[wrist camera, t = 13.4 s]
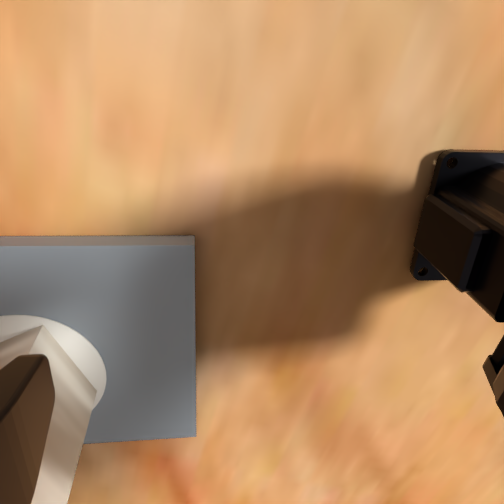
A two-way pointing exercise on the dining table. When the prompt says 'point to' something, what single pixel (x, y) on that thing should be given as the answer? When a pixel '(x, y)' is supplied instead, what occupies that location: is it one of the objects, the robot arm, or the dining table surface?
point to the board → (113, 323)
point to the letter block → (57, 413)
